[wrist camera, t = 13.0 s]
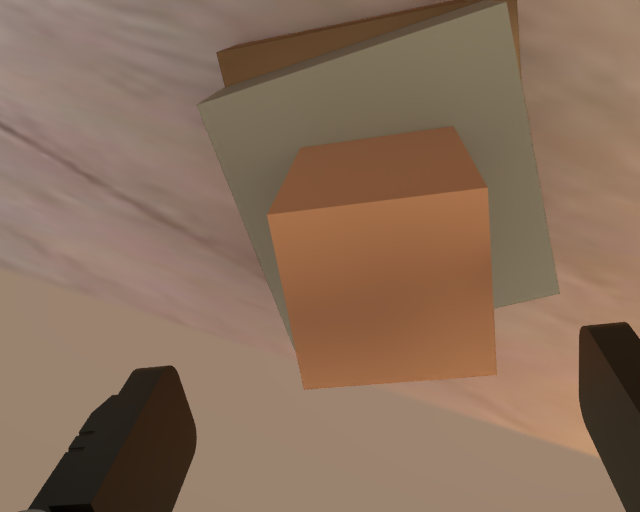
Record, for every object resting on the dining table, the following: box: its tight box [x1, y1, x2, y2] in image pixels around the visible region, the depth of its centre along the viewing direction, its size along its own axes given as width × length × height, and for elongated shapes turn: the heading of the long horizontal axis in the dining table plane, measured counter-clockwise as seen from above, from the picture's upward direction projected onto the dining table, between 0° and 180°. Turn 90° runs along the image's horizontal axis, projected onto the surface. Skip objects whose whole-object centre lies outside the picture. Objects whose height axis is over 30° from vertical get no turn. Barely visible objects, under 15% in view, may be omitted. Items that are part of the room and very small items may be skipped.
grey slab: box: [197, 0, 560, 352], centre depth 24 cm, size 11×11×4 cm
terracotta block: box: [267, 126, 497, 390], centre depth 19 cm, size 6×6×7 cm
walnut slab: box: [216, 0, 521, 87], centre depth 27 cm, size 12×12×4 cm
